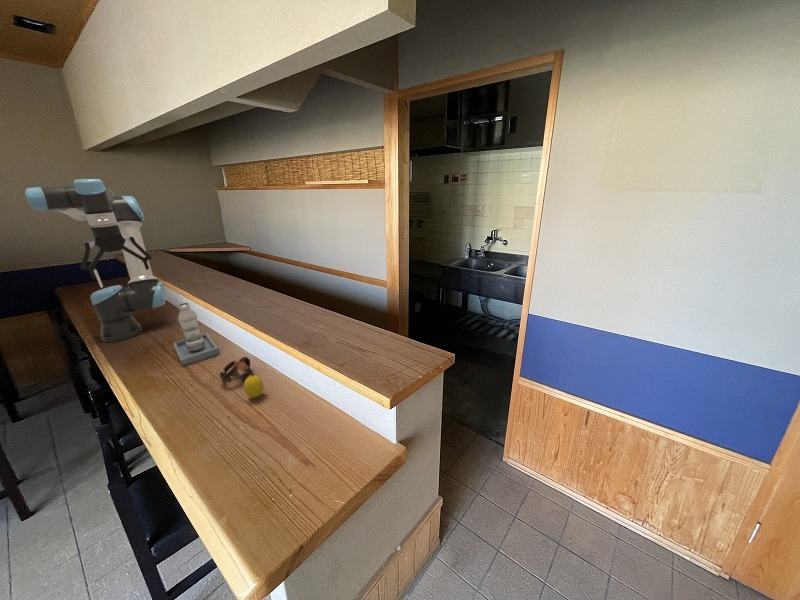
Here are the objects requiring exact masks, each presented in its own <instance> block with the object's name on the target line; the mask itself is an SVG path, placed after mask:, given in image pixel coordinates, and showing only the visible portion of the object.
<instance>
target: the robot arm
mask: <svg viewBox="0 0 800 600" xmlns="http://www.w3.org/2000/svg"><path fill="white" fill-rule="evenodd" d="M24 196H25V199H26V201H27V203H28V205H29V206H30V207H31V208H32V209H33V210H35V211H55V212H59V213H62V214H65V215H67V216H69V218H72V220H76V221H80V222H84V223H88V225H89V226H91V228H90V230H91V232H92V235H93V238H94V241H87V240H86V241H84V242H83V244H84V247H85V249H84V252H83V256H82V260H81V264H80V269H81V270H82V271H89V274H90V276H91V278H92V279H93V280H97V282H98V284H99V287H100V289H98V290H97V291H94V292H92V294H90V300H91V305H92V306H93V309H94V311H95V313H96V315H97V318H98V321H99V322H100V339H101V341H102V342H103V341H104V343H114V342H119V341H120V342H121V341H124V340H128V339H131V338H133V337H135V336H138V335H140V334H141V333H142V332H143V330H144V329H143V328H142V325H141V324H140V323H139V322H138V321H137V319H135V317H134V316H133V312H138V311H139V312H140V311H143V310H147V309H155V308H158V307H162V306H164V305H165V304H166V291H165V287H164V283H163V282H162V281H159V279H158V278H157V277H156V276H154V275H153V271H152V267H151V264H150V260H152V256H151V255H150V254H149V253H148V252H147V250H146V245H145V243H144V239H143V237H142V236H143V235H142V232H141V227H142V226H143V221H145V220H146V218H145V215H144V213H143V211H142V209H141V206H140V205H139V203H138V201H137V199H136V198H135V197H134V196H131V195H121V196H120V195H119V196H118V195H117V196H115V195H114V193H113V191H112V190H111V189H110V188H108V187H106V186H105V184H104V182H103V181H102V179H99V178H89V179H88V178H87V179H86V178H83V179H75V180H73V185H71V186H70V185H69V186H68V185H67V186H45V187H44V186H41V187H40V186H36V187H27V188H26V189H25V191H24ZM94 246H97V247H98V248H99V249H98V251H97V253H96V255H95V256H94V258H93V259H92V261H90V264H89V265H87V264H88V261H89V257H90V252H91V249H93V248H94ZM121 250H122V253H123V258H124V260H125V264H126V267H127V271H128V275H129V278H130V280H129V281H128V282H127V286H128V287H124V286H122V285H120V284H118V285H117V284H116V285H112V286H108V287H104V285H103V282H102V280H101V278H100V275H99V273H98V270H97V268H95V267H96V266H97V264H98V263H99V261H100V260H101V258H102V257H103V255H104V254H105V252H106V253H111V252H112V253H113V252H119V251H121ZM103 287H104V288H103Z"/></svg>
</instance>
